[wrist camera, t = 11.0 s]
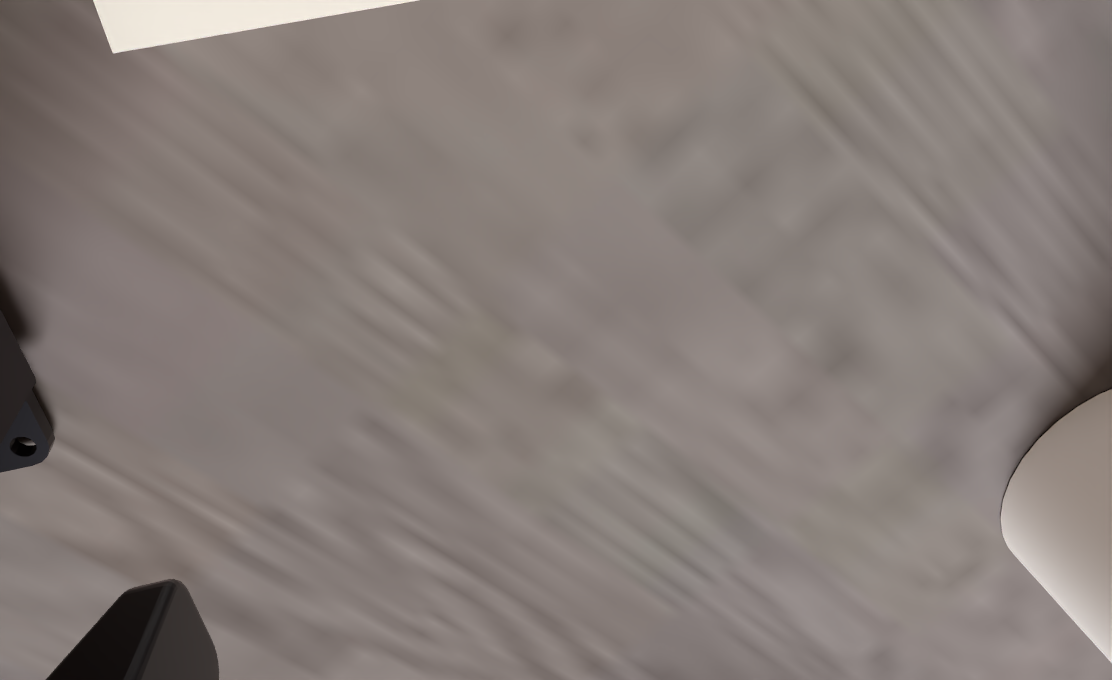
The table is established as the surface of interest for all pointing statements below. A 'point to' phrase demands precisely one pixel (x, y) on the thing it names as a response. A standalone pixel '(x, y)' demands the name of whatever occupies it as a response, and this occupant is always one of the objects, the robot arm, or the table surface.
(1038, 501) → the cylindrical container
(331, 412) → the table surface
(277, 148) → the table surface
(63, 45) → the table surface
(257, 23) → the socket
